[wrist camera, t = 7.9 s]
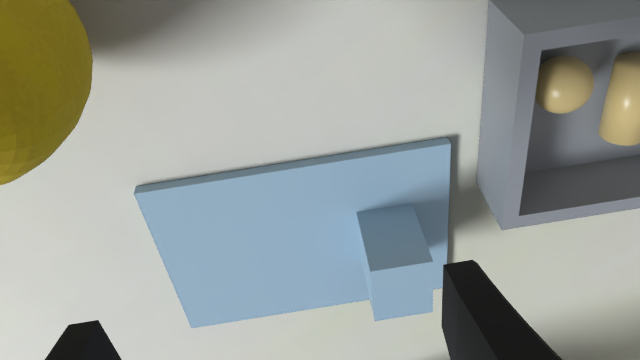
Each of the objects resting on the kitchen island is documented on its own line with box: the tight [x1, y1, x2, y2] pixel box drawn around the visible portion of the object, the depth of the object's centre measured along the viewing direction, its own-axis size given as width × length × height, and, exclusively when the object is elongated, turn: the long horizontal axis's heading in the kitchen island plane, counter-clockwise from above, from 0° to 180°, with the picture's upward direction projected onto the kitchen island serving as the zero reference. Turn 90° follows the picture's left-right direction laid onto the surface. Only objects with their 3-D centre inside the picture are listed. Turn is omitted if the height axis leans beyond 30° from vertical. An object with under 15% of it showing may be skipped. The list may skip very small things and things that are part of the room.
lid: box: [134, 137, 451, 328], centre depth 23 cm, size 9×13×4 cm
